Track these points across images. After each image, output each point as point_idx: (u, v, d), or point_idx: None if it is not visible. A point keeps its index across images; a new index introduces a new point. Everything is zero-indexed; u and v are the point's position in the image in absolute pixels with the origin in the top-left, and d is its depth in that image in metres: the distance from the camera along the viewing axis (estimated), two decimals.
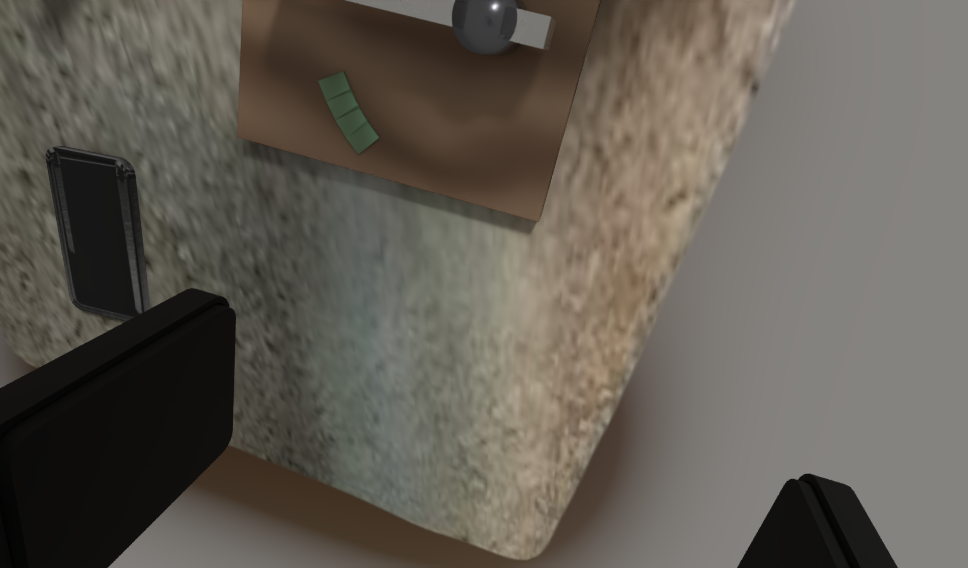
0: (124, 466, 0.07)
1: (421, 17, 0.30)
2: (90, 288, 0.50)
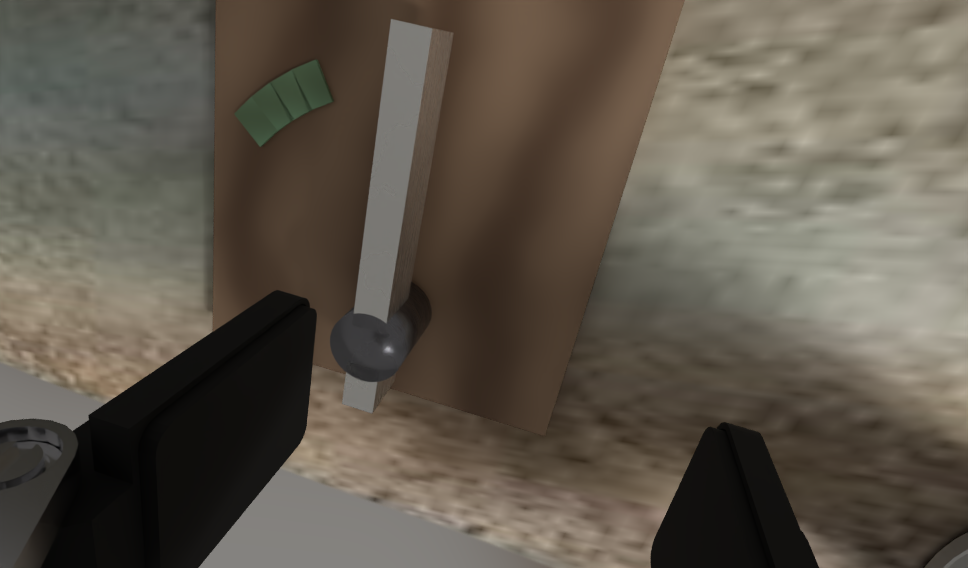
0: (230, 456, 0.08)
1: (359, 278, 0.24)
2: None
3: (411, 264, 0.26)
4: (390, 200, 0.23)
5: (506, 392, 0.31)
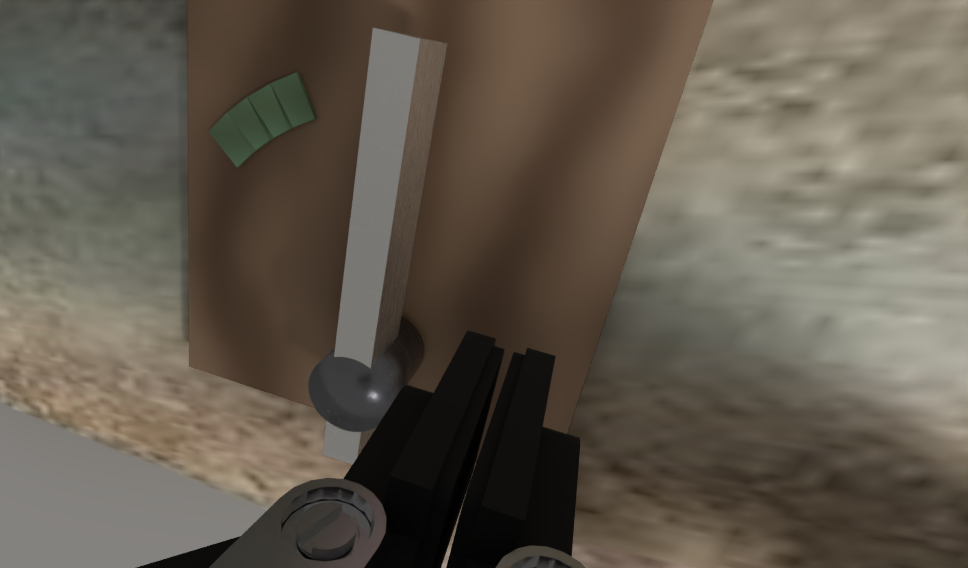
0: (457, 502, 0.08)
1: (340, 318, 0.22)
2: None
3: (400, 300, 0.24)
4: (374, 232, 0.20)
5: None
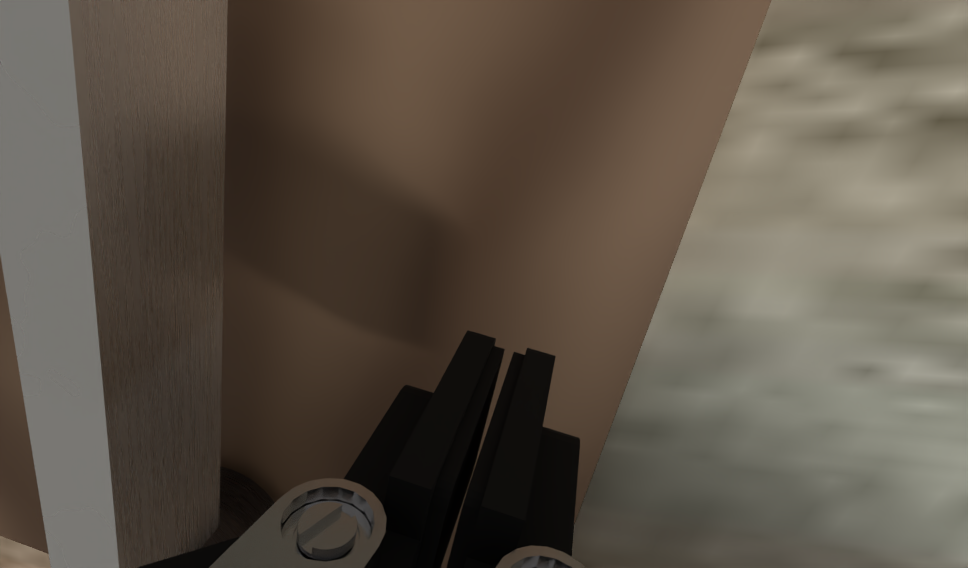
0: (456, 502, 0.08)
1: (50, 551, 0.11)
2: None
3: (207, 478, 0.13)
4: (72, 405, 0.09)
5: None
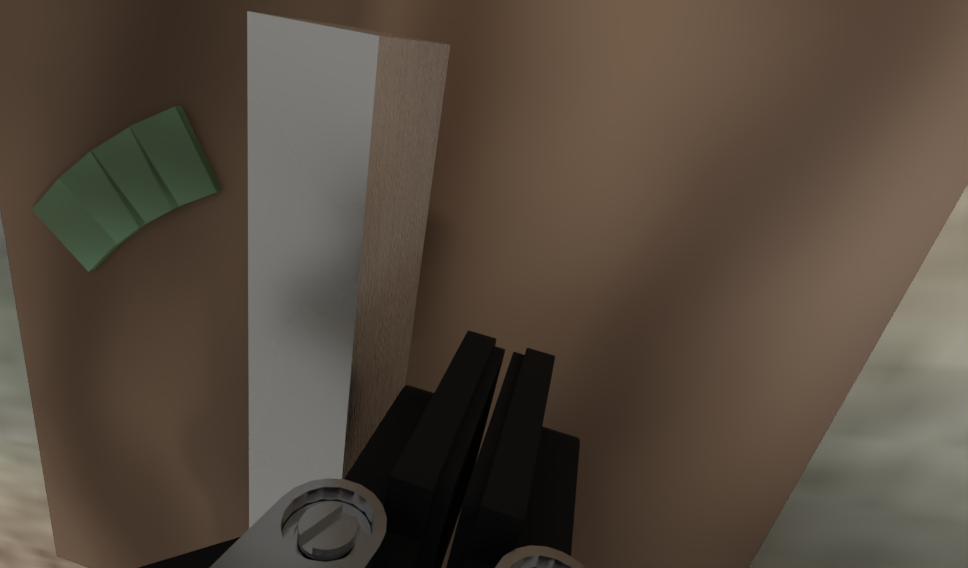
0: (457, 502, 0.08)
1: None
2: None
3: None
4: (304, 481, 0.09)
5: None
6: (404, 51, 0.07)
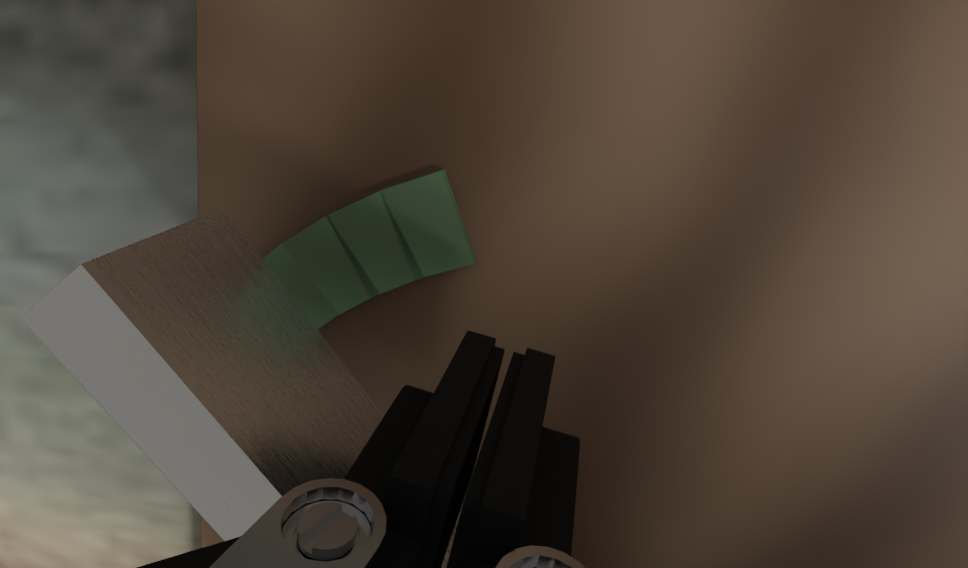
0: (457, 502, 0.08)
1: None
2: None
3: None
4: None
5: None
6: (139, 252, 0.08)
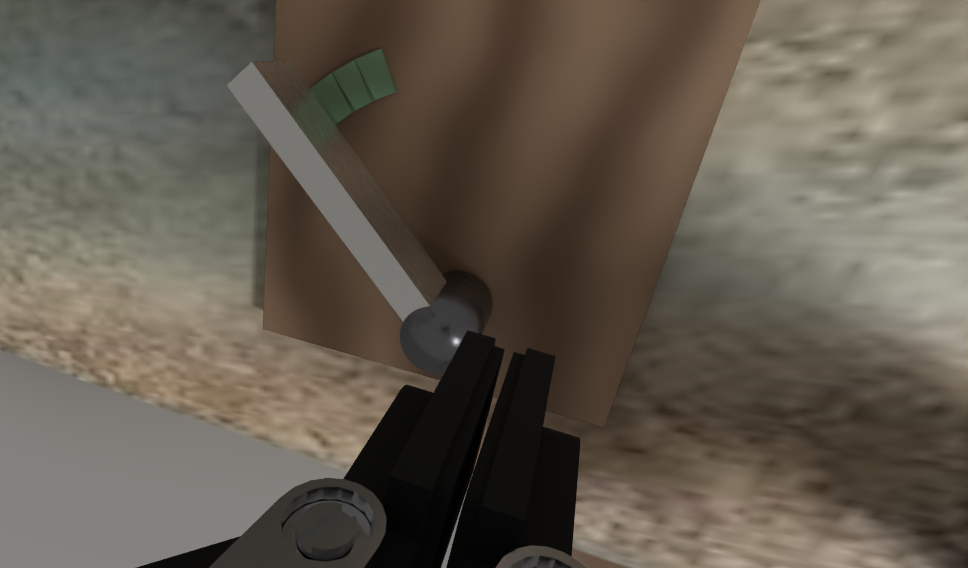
0: (456, 502, 0.08)
1: (380, 289, 0.25)
2: None
3: (420, 251, 0.27)
4: (342, 208, 0.24)
5: (566, 384, 0.31)
6: (266, 64, 0.23)
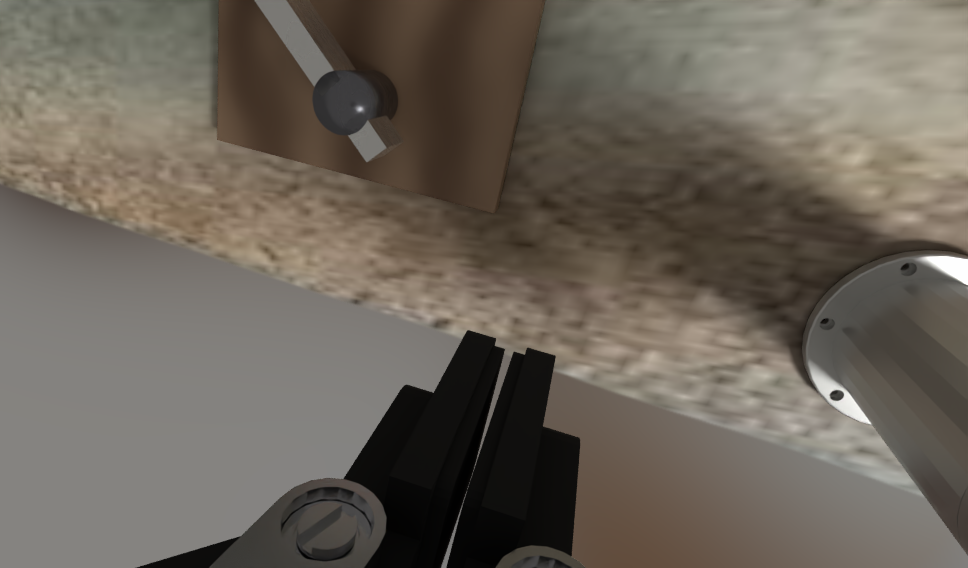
0: (456, 502, 0.08)
1: (296, 58, 0.32)
2: None
3: (332, 40, 0.33)
4: None
5: (461, 174, 0.37)
6: None
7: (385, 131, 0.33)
